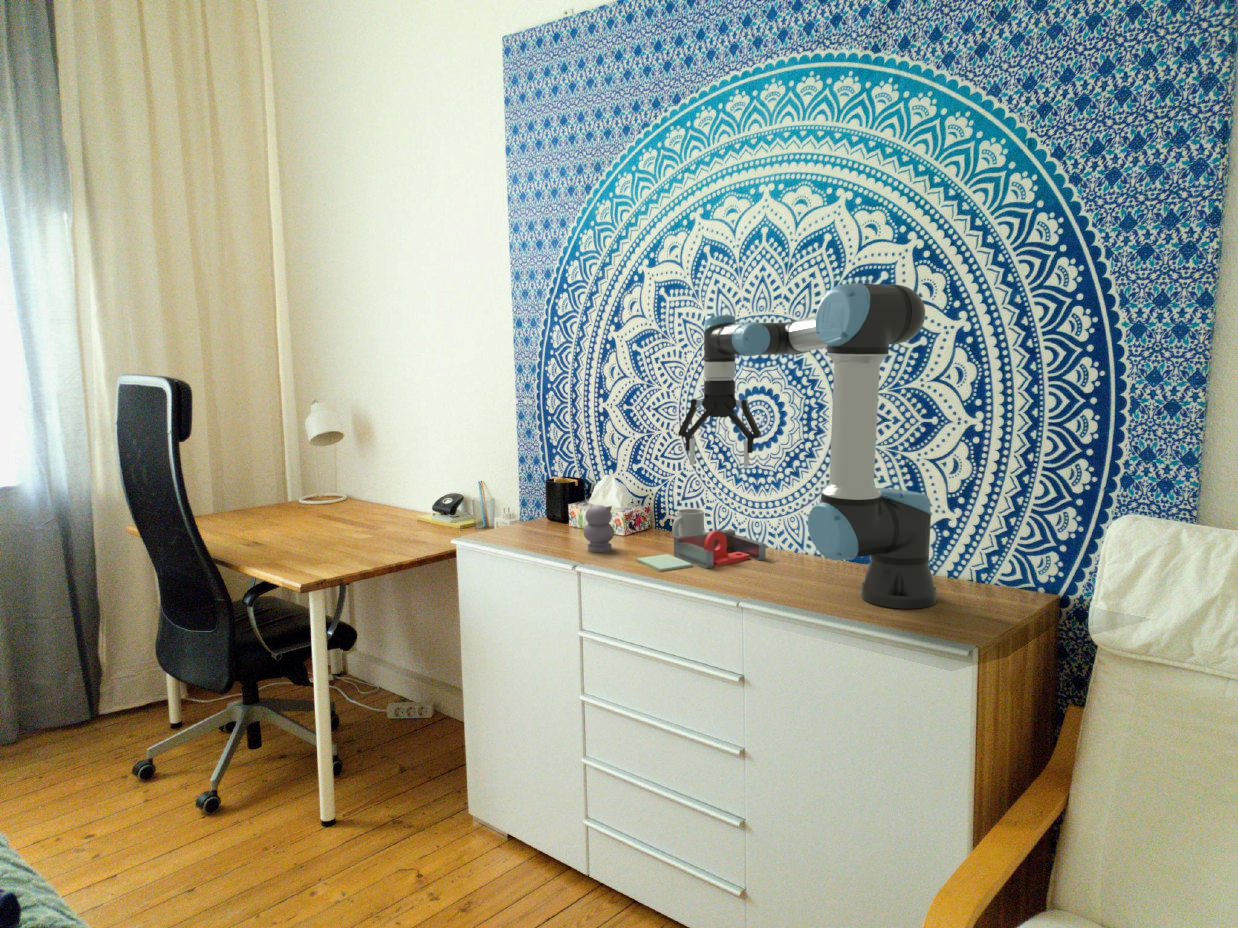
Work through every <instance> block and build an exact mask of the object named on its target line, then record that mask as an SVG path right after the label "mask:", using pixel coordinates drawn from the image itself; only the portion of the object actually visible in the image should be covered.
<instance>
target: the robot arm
mask: <svg viewBox="0 0 1238 928" xmlns="http://www.w3.org/2000/svg"><path fill="white" fill-rule="evenodd" d="M925 320H926V308H925V303H924V301H923V299H922V298H921V296H920V295H919V294H918V293H917V292H916V291H915V290H913V289H912V288H910V287H908V286H905V285H901V284H894V283H893V284H879V283H878V284H877V283H863V282H862V283H860V282H859V283H857V282H854V283H843V284H839V285H836V286H833V287H832V288H831V289H830V290H828V291H827V292H826V294H825V296H823V297H822V298H821V300H820V301H819V304H818V306H817V309H816V312H815V315H813V316H809V317H805V318H800V319H797V320H793V321H787V322H756V321H752V322H749V321H748V322H747V321H745V322H737V321H736V317H735V316H734V315H731V314H727V315H726V314H724V315H723V314H716V315H707V316H706V317H705V319H704V330H703V340H704V341H703V353H704V354H703V357H704V358H703V359H704V361H703V367H704V368H703V377H704V379H705V380H704V382H703V399H698V398H691V400H690V407H689V409H688V412H687V414H686V415H685V418H684V420H683V421H682V424H681V426H680V428H679V430H678V432H677V433H678V436H681V437H684V438H685V451H686V452H689V466H694V465H695V464H696V438H695V437H693V435H694V434H696V432H697V431H698V430H699V429H700V428H701V426H703V424H704V423H705V422H706V420H707V419H708V418H709V417H711V418H718V417H719V418H727V417H728V418H729V419H730V420H731V422H733V423H734V424H735V426H736V427H737V429H739V431H740V432H741V433H742V434H743V435H744V437H745V439H744V440H743V468H747V467H749V466H750V454H752V453H753V452H754V440H755V439H758V438H759V437H761V436H762V432H761V430H760V429H759V426H758V424H757V422H756V420H755V418H754V416H753V414H752V412H751V410H750V406H749V400H748V399H747V398H744V399H740V400H738V399H736V381H735V379H734V378H735V377H736V356H745V357H754V356H755V357H756V356H768V355H770V356H771V355H791V356H792V355H794V356H795V355H797V356H798V355H801V354H803V355H804V354H806V353H809V352H810V351H814V350H820V349H826V355H827V356H828V358H830V359H831V360H832V362H833V365H834V367H833V389H832V390H833V391H832V411H831V413H832V415H831V433H830V434H831V435H830V459H829V460H830V462H829V480H828V481H829V482H828V484H827V485H825V486H824V487H823V488H822V489H821V491H820V502H819V503H817V504H815V505H814V506H813V507H812V508H811V510H810V511H808V512H809V513H808V516H807V530H808V535H809V537H810V538H809V539H811V540H810V541H811V542H812V544H813V545H814V547H815V549H816V550H817V551H818V552H819V554H821V555H822V556H823V557H825V558H827V559H829V560H831V561H843V560H846V561H852V560H855V559H859V558H865V557H870V561H869V564H868V568H867V570H866V573H865V577H864V581H862V584H861V587H860V589H861V590H860V591H861V592H860V596H861V597H860V598H861V599H862V600H863V601H865V602H868V603H870V604H873V605H876V606H879V607H885V608H891V609H902V610H903V609H904V610H907V609H908V610H911V609H923V608H928V607H932V606H934V605H935V604H936V603H937V601H938V600H937V598H938V597H937V593H938V591H937V588H936V586H935V585H934V580H933V579H934V578H933V574H932V572H931V568H930V544H931V543H930V540H931V521H932V520H931V519H932V512H931V500H930V497H929V496H927V494H924V493H921V492H917V491H912V490H904V489H897V488H887V487H876V485H875V468H876V467H875V466H876V450H877V431H878V430H877V427H878V426H877V425H878V410H879V409H878V407H879V390H880V389H879V388H880V370H881V369H880V367H881V363H882V362H883V361H884V360H885V359H886V358H887V357H888V356H889V353H890V352H889V351H890V345H896V344H903V343H905V342H908V341H910V340H911V339H913V338H914V337H915V336H917V334H918V333H919V332H920V330H921V329H922V328H923V326H924V323H925ZM701 405H702V407H703V408H704V409H705V410H704V411H703V413H702V414H701V416H700V417H699V418H698V420H697V421H696V422H695V423H694V424H693V425H692V427H691V428H690V429H689V430H688V428H689V426H690V424H691V422H692V420H693V418H694V416H695V414H696V412H697V410H698V408H700V407H701ZM737 406H738V408H739V409H741V410H742V413H743V414H744V417H745V419H746V422H747V423H748V425H749V427H750V429H751V430H749V428H748V427H747V426H746V425H745V423H744V422H743V421H742V419H741V418H740V417H739V416H738V414H737V412H736V411H735V408H736V407H737ZM687 430H688V431H687Z"/></svg>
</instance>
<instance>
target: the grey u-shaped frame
mask: <svg viewBox="0 0 1238 928" xmlns="http://www.w3.org/2000/svg"><path fill="white" fill-rule="evenodd" d="M720 531H721V532H723V533H724V534H725V536H726V540H727V551H730V552H732V553H734V552H742V553H746V554H749V559H753V560H756V561H765V560H766V559H767V558H766V553H767V551H766V547H767V546H766V545H767V544H766V543H764V542H761V541H758V540H754V539H751V538H748V537H745V536H741V535H739V534H736V530H735V529H732V528H731V529H730V528H729V529H724V530H720ZM710 532H711V531H708V532H704V533H699V534H691V535H684V536H676V537H674V536H673V557H676V558H679V559H681V560H684V561H686V562H689V563H691V564H693V565H696V566H698V567H701V568H704V569H713V568H714V566H713V551H711V550H708V549H705V548H704V542H705V539H706V537H707V535H708V534H709V533H710ZM717 546H718V540H717V539H716V540H715V541H714V543H713V548H714V549H716V547H717Z"/></svg>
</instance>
